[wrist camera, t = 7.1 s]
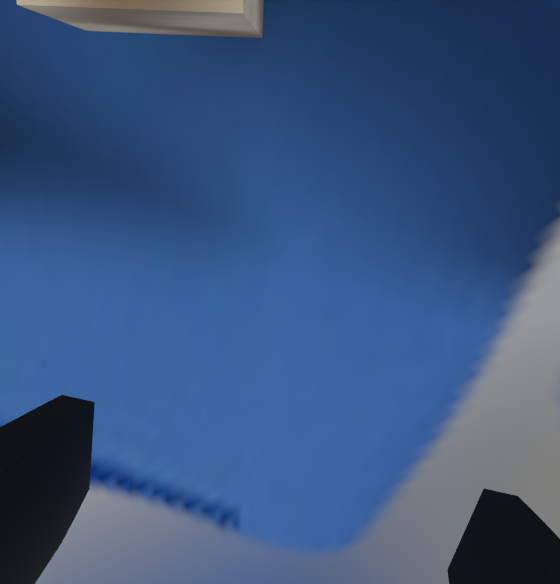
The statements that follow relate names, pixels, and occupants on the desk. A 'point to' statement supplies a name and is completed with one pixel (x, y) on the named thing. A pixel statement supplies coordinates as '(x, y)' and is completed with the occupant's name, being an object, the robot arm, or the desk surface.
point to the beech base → (157, 16)
